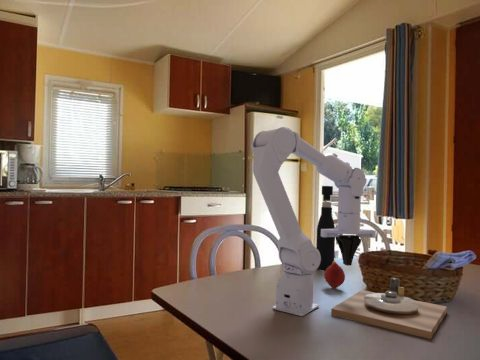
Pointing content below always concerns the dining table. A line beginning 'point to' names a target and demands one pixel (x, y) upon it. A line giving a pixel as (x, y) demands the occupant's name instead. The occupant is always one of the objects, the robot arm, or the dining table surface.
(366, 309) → the base board
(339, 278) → the red oval fruit
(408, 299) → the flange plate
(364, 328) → the dining table surface
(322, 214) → the wine bottle
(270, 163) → the robot arm
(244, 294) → the dining table surface
